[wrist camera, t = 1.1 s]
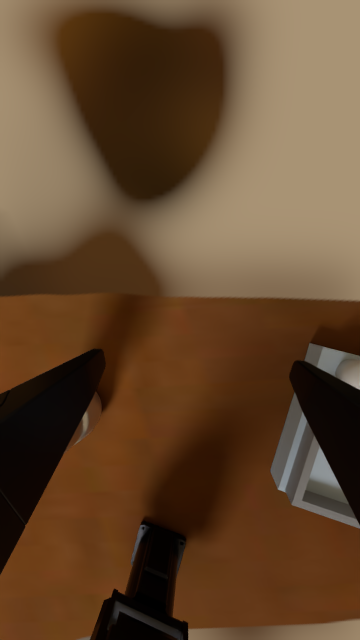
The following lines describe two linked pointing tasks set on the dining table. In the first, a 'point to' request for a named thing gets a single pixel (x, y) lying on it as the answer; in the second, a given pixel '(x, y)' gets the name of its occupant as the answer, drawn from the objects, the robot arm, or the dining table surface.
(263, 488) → the dining table surface
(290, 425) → the square tray with knobs
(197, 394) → the dining table surface
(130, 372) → the dining table surface
